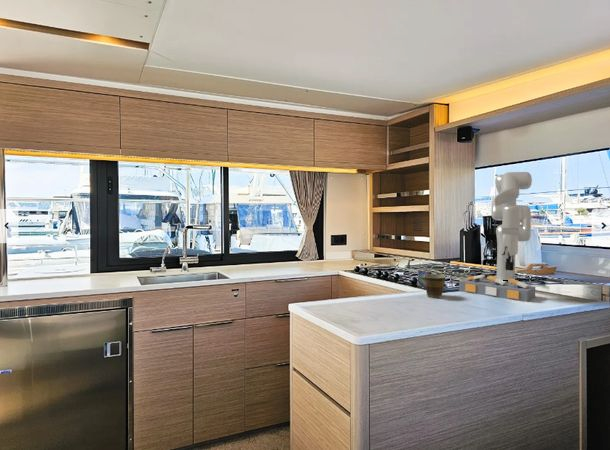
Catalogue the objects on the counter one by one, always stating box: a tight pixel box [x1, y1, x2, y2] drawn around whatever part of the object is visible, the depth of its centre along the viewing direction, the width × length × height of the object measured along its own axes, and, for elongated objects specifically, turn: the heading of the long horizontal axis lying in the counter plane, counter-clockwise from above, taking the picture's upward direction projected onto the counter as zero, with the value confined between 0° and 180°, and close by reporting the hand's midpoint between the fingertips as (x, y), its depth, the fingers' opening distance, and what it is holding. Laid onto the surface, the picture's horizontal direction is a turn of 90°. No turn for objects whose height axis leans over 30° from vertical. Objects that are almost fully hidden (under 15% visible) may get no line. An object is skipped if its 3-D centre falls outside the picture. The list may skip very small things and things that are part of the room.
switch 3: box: [507, 278, 529, 288], centre depth 200 cm, size 4×8×2 cm, turn 46°
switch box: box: [458, 278, 536, 302], centre depth 207 cm, size 13×32×6 cm, turn 46°
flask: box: [417, 266, 432, 288], centre depth 223 cm, size 9×3×11 cm, turn 28°
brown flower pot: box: [417, 273, 446, 299], centre depth 203 cm, size 13×10×10 cm
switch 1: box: [465, 274, 486, 280], centre depth 214 cm, size 4×8×2 cm, turn 46°
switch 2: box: [486, 275, 507, 285], centre depth 207 cm, size 4×8×2 cm, turn 46°
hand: (509, 269), depth 202 cm, fingers closed
